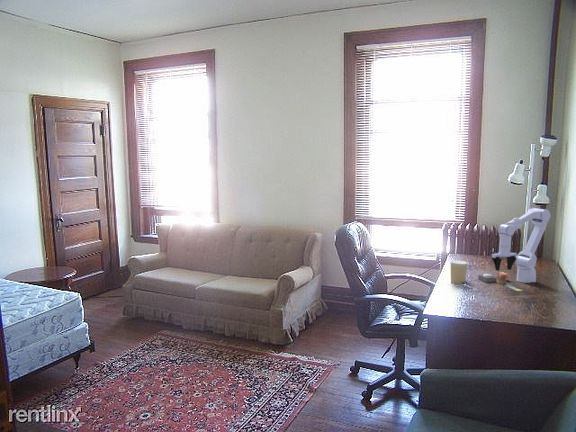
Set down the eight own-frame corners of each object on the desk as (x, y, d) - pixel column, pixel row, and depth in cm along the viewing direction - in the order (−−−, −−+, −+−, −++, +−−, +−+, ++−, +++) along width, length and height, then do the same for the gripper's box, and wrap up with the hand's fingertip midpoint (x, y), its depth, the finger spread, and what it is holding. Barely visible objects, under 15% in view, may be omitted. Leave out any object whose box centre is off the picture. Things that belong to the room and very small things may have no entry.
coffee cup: (465, 280, 262) (466, 260, 260) (467, 285, 253) (468, 264, 251) (448, 279, 264) (449, 259, 263) (449, 284, 255) (451, 263, 254)
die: (501, 278, 262) (502, 271, 262) (508, 280, 259) (508, 273, 258) (497, 279, 260) (497, 272, 260) (503, 281, 257) (504, 274, 256)
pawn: (502, 282, 254) (503, 273, 253) (507, 284, 250) (508, 275, 249) (497, 282, 253) (497, 274, 252) (501, 284, 249) (502, 276, 248)
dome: (488, 278, 261) (488, 273, 260) (493, 280, 256) (494, 275, 256) (480, 279, 259) (481, 274, 259) (486, 281, 255) (486, 276, 254)
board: (502, 279, 264) (502, 273, 264) (534, 292, 240) (535, 285, 240) (474, 281, 260) (474, 275, 259) (504, 294, 236) (504, 287, 235)
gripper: (510, 244, 254) (509, 267, 256) (488, 245, 251) (487, 268, 253) (520, 246, 247) (518, 270, 249) (497, 247, 244) (495, 271, 246)
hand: (503, 269), depth 250 cm, fingers open, 7 cm apart
